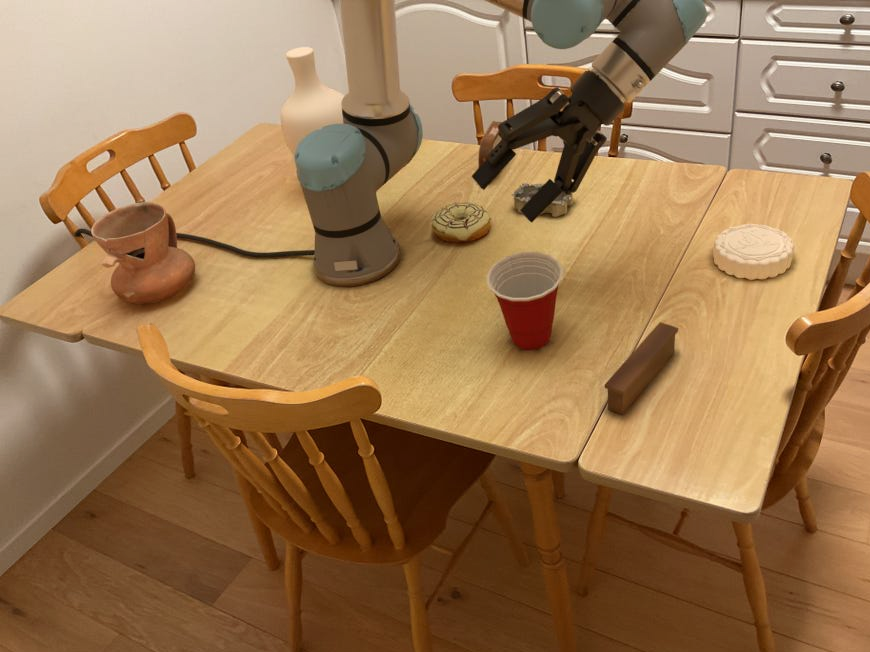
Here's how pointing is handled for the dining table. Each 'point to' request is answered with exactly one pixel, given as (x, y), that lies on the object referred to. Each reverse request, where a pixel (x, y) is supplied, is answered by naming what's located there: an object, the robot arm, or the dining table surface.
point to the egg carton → (555, 207)
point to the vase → (308, 100)
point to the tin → (489, 142)
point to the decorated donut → (461, 222)
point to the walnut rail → (640, 368)
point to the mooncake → (753, 251)
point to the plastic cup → (527, 295)
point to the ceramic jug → (143, 253)
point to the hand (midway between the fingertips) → (502, 200)
